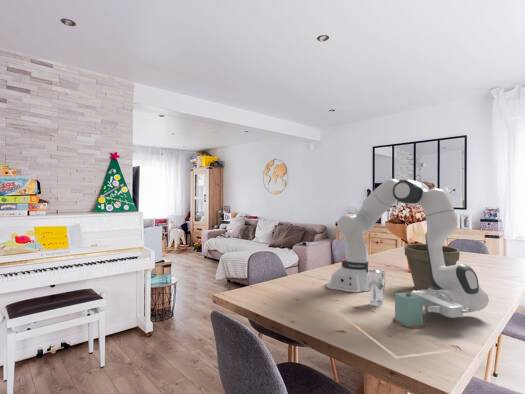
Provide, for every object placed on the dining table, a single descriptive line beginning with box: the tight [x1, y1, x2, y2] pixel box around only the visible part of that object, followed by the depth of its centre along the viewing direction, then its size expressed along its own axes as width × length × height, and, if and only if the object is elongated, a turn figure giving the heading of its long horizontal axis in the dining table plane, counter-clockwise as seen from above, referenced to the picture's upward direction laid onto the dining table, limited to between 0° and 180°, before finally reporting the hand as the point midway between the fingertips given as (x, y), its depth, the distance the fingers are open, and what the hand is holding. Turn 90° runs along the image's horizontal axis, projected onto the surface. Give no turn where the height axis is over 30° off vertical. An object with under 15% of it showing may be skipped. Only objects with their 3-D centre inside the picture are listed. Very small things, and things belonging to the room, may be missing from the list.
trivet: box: [392, 317, 426, 330], centre depth 113 cm, size 11×11×1 cm
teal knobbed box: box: [394, 291, 424, 327], centre depth 114 cm, size 7×7×11 cm
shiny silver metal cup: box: [368, 268, 386, 307], centre depth 134 cm, size 7×7×15 cm
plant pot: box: [404, 243, 461, 290], centre depth 156 cm, size 25×25×22 cm
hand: (417, 304), depth 114 cm, fingers open, 8 cm apart
